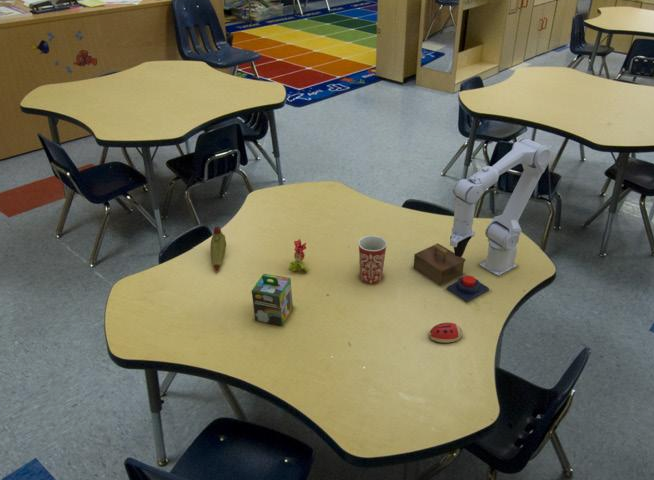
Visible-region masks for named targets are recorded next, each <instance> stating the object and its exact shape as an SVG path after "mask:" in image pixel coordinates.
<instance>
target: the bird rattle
mask: <svg viewBox="0 0 654 480" xmlns="http://www.w3.org/2000/svg"><path fill="white" fill-rule="evenodd" d="M293 244H294V251H295V252H294V255H293V257H294V259H295V260H292V261H291V262H290V265H289V267H288V271H292V272H293V273H295V272H296V271H297V270H298V269H300V270H303V271H304V272H306V273H307V272H308V267H307V266H305V265H304V264H302V262H303V260H305V256H306V255H305V254H306V253H305V252H304V251H305V250H306V249H307V242H304V243H303V244H302V240H301V239H300V238H299V239H298V240H294V241H293Z"/></svg>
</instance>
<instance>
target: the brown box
mask: <svg viewBox="0 0 654 480" xmlns="http://www.w3.org/2000/svg"><path fill="white" fill-rule="evenodd" d="M464 267H465V261H464V262H462V263H460V264H458V265H456V266H454V267H452V268H450V269H448V270H446V271H444V272H440V271H439V270H437V269H435V268H434V267H432V266H431V265H429V264H427V263H426V262H424V261H423V260H421V259H419V258H418V257H416V256H415V255H414V256H413V267H412V268H413V270H414V271H416V272H418V273H419V274H421V275H422V276H424V277H426V278H427V279H429V280H431V281H432V282H434V283H435V284H437V285H438V286H443V285H445V284H447V283H449V282H451V281H453V280H455V279H456V278H458V277H459V278H460V277H462V275H463V274H464Z"/></svg>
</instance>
